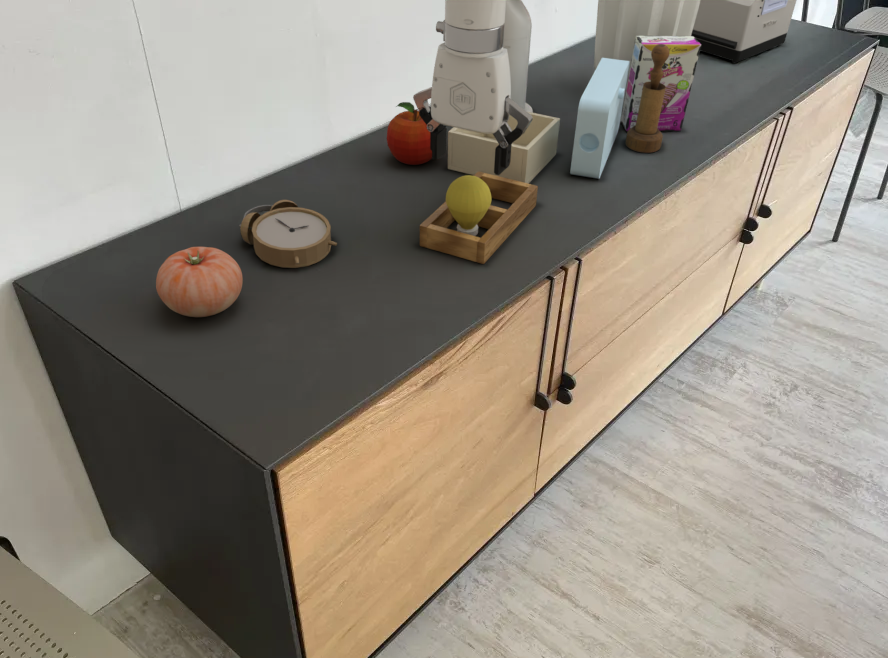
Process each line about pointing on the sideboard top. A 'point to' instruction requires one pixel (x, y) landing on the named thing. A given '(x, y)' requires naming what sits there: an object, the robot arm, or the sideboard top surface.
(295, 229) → the alarm clock
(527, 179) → the wooden box
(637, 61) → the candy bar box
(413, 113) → the fruit
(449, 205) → the light bulb
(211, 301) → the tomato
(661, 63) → the mortar and pestle
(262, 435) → the sideboard top surface
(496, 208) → the wooden frame
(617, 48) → the vase
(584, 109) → the radio
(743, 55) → the toaster
